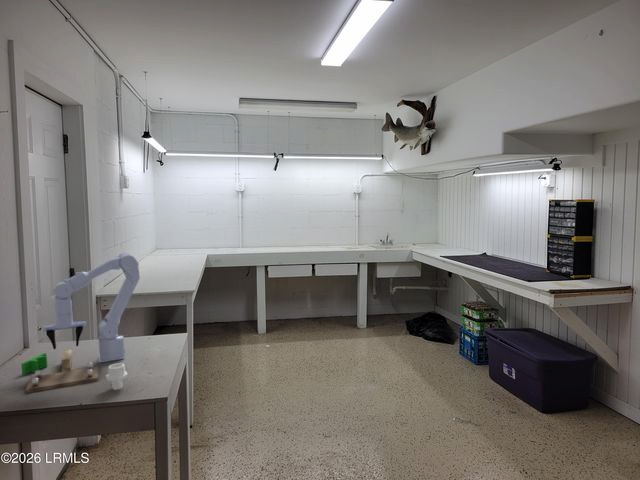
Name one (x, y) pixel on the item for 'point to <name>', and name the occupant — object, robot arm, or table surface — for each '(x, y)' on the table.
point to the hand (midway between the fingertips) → (66, 347)
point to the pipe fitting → (116, 375)
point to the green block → (34, 364)
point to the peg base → (62, 378)
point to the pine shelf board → (66, 360)
